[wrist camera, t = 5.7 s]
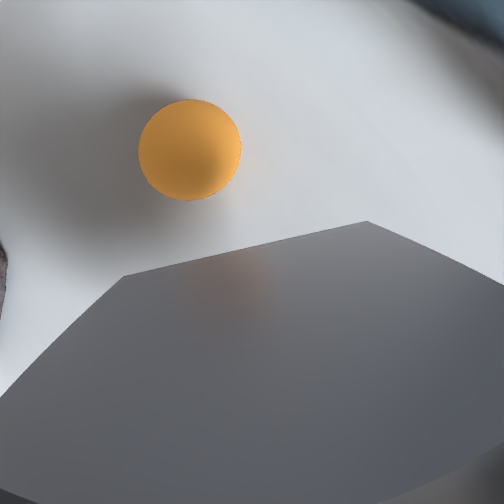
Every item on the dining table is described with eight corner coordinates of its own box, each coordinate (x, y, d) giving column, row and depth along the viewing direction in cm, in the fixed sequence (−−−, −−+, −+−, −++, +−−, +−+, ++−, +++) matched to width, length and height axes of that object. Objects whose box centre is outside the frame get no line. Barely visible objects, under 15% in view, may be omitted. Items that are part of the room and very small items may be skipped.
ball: (230, 100, 16) (222, 73, 11) (251, 184, 17) (252, 188, 12) (147, 125, 16) (112, 110, 11) (167, 206, 17) (137, 219, 13)
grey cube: (366, 221, 9) (605, 348, 1) (378, 406, 11) (452, 563, 3) (123, 276, 9) (-53, 460, 2) (196, 443, 11) (173, 609, 3)
